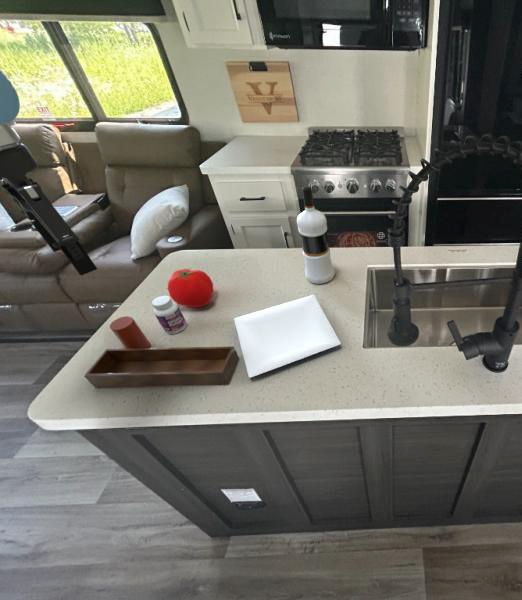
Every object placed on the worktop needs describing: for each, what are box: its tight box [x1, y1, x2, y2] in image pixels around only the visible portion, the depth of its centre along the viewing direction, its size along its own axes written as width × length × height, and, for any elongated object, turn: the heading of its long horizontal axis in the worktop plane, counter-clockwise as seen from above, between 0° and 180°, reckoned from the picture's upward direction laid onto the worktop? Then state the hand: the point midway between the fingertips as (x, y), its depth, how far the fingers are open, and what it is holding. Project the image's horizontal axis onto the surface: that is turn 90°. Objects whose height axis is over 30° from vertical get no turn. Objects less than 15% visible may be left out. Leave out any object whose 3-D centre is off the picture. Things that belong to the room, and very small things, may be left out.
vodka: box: [296, 185, 335, 285], centre depth 98 cm, size 9×9×30 cm
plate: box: [233, 294, 341, 379], centre depth 87 cm, size 22×22×2 cm
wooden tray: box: [84, 345, 240, 389], centre depth 76 cm, size 29×8×4 cm, turn 93°
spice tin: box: [109, 315, 152, 349], centre depth 80 cm, size 5×5×9 cm
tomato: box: [167, 267, 214, 308], centre depth 94 cm, size 11×13×10 cm
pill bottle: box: [151, 295, 188, 335], centre depth 85 cm, size 5×5×10 cm
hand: (74, 259), depth 65 cm, fingers open, 13 cm apart
